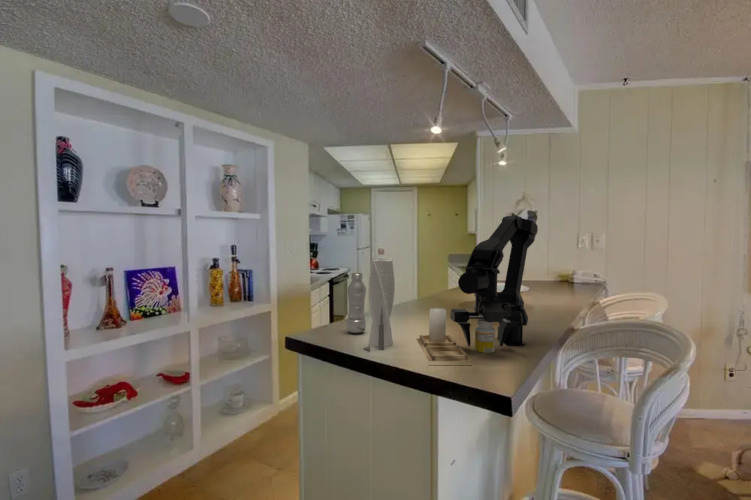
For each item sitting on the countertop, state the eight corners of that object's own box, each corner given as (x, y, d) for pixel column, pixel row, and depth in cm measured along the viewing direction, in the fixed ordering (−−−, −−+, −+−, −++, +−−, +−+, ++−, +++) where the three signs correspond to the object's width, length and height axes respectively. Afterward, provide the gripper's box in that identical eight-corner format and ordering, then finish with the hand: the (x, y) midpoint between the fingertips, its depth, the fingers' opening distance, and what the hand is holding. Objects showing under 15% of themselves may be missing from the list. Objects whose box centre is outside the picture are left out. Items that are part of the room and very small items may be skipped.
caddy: (451, 342, 122) (451, 334, 122) (472, 365, 100) (472, 356, 100) (416, 342, 122) (416, 334, 122) (428, 365, 100) (429, 356, 100)
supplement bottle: (489, 358, 107) (490, 323, 106) (471, 354, 110) (472, 320, 110) (497, 354, 111) (498, 320, 111) (479, 350, 114) (480, 317, 114)
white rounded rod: (443, 340, 120) (444, 307, 119) (447, 345, 115) (447, 310, 114) (427, 340, 119) (428, 307, 119) (430, 345, 115) (431, 310, 114)
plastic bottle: (344, 334, 130) (345, 274, 130) (349, 330, 137) (349, 272, 136) (363, 335, 129) (364, 274, 128) (367, 331, 136) (368, 272, 135)
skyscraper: (359, 348, 114) (361, 251, 113) (378, 343, 120) (380, 251, 119) (381, 354, 108) (383, 252, 108) (400, 349, 114) (401, 252, 114)
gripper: (460, 294, 102) (459, 354, 102) (531, 295, 102) (530, 355, 103) (450, 288, 113) (449, 343, 113) (514, 289, 114) (513, 343, 114)
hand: (484, 346), depth 111 cm, fingers open, 9 cm apart
